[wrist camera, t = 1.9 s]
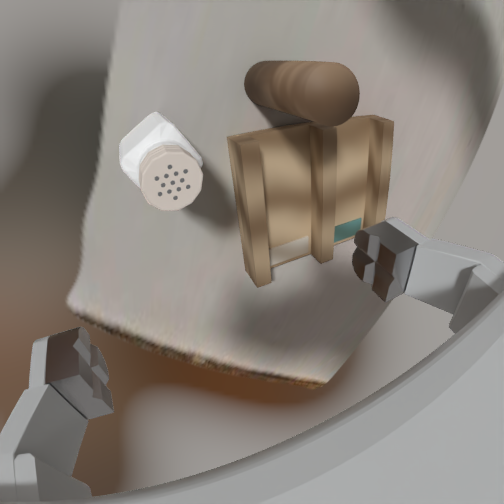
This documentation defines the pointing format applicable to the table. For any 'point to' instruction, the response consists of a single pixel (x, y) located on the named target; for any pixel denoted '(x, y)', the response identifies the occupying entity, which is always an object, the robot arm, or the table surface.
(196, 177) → the pepper shaker
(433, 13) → the table surface
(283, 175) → the rack
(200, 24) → the table surface
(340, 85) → the dowel
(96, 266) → the table surface
